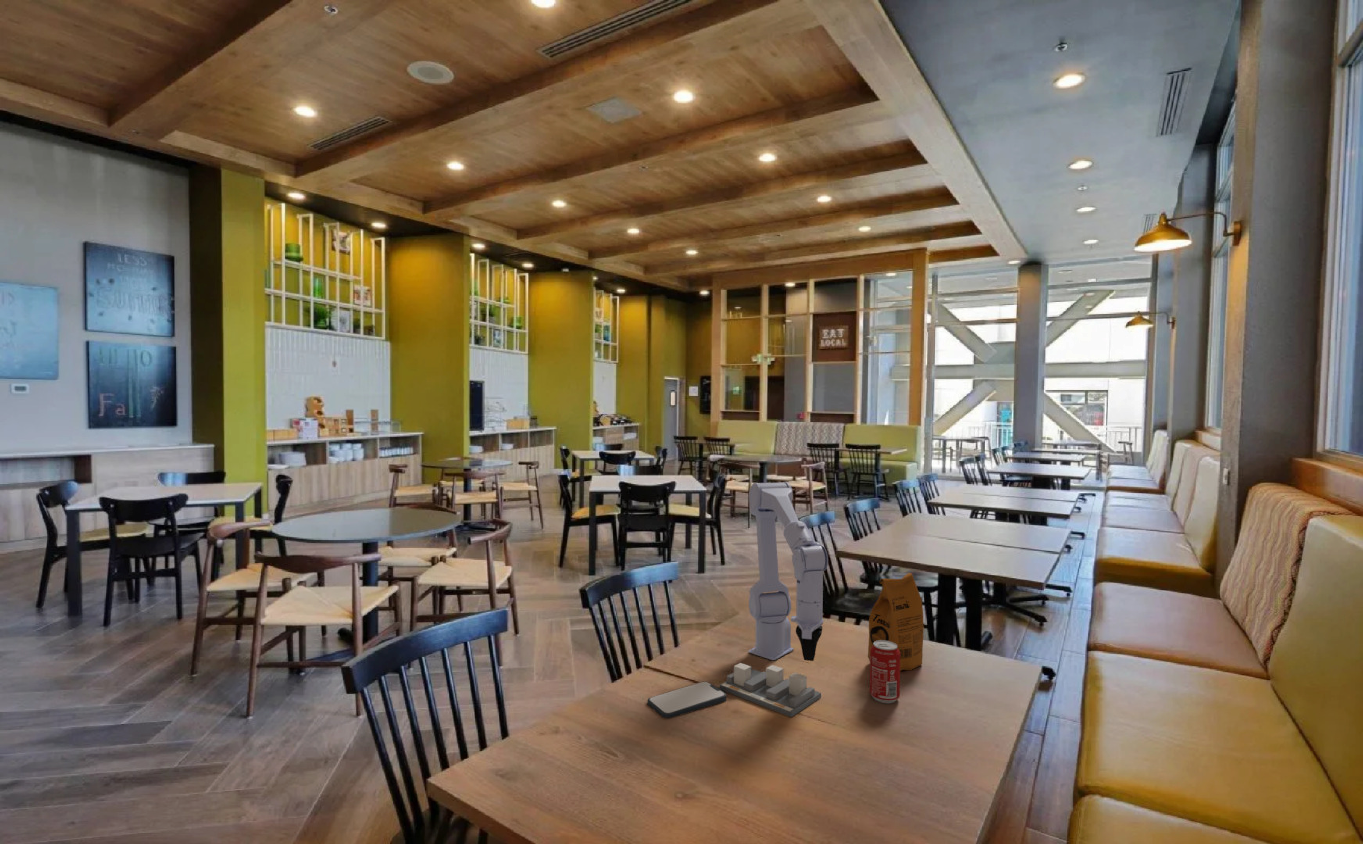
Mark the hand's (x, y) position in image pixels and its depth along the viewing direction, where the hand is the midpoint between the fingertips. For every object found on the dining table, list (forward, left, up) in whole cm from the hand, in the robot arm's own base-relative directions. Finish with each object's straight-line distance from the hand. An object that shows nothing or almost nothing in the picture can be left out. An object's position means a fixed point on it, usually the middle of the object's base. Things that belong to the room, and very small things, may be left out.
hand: (808, 659), depth 145 cm
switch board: (+6, -6, -7) cm, 11 cm away
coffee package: (-28, +8, -8) cm, 30 cm away
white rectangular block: (+4, -6, -6) cm, 10 cm away
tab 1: (+8, -12, -6) cm, 16 cm away
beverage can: (-9, +14, -8) cm, 18 cm away
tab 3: (+4, 0, -6) cm, 8 cm away
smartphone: (+22, -17, -8) cm, 29 cm away
